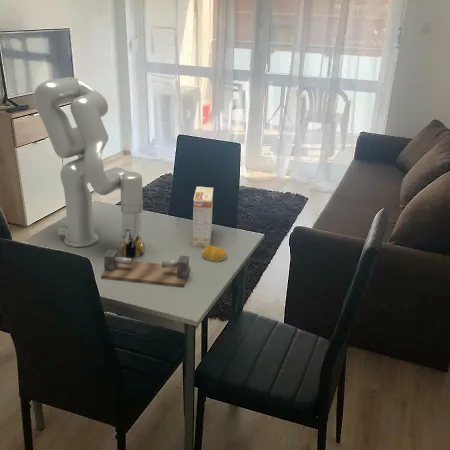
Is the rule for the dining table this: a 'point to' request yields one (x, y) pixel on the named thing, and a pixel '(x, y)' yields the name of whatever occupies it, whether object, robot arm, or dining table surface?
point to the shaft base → (146, 270)
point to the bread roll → (214, 254)
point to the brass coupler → (137, 245)
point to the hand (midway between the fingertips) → (132, 251)
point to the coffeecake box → (202, 216)
